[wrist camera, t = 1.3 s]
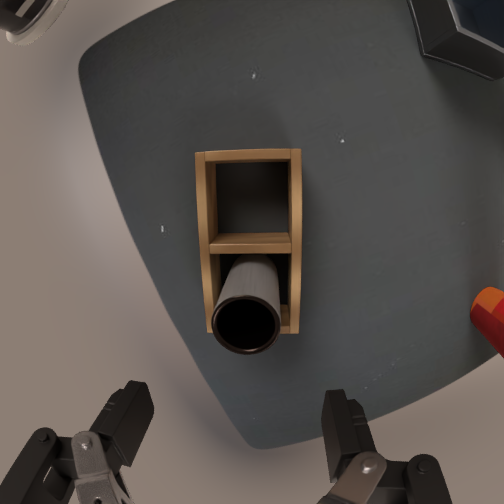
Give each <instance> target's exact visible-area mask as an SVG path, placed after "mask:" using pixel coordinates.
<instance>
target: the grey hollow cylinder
mask: <svg viewBox="0 0 504 504" xmlns="http://www.w3.org/2000/svg"><path fill="white" fill-rule="evenodd" d="M211 328H212V332H213V334H214V336H215V338H216V339H217V341H218V342H219V343H220V344H221V345H222V346H223V347H225V348H226V349H228V350H230V351H232V352H234V353H238V354H244V355H251V354H257V353H260V352H263V351H265V350H267V349H268V348H270V347H271V346H272V345H273V344H274V343H275V342H276V340H277V339H278V337H279V334H280V331H281V314H280V299H279V284H278V272H277V268H276V265H275V264H274V262H273V261H272V260H271V258H269V257H268V256H267V255H265V254H263V253H258V254H243V255H241V256H240V257H238V258H237V259H236V261H235V262H234V263H233V265H232V267H231V270H230V272H229V275H228V277H227V279H226V282H225V284H224V287H223V289H222V292H221V294H220V296H219V299H218V301H217V304H216V306H215V309H214V311H213V314H212V317H211Z"/></svg>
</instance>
